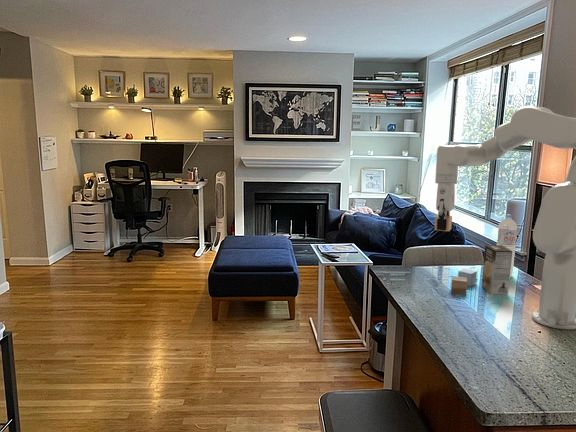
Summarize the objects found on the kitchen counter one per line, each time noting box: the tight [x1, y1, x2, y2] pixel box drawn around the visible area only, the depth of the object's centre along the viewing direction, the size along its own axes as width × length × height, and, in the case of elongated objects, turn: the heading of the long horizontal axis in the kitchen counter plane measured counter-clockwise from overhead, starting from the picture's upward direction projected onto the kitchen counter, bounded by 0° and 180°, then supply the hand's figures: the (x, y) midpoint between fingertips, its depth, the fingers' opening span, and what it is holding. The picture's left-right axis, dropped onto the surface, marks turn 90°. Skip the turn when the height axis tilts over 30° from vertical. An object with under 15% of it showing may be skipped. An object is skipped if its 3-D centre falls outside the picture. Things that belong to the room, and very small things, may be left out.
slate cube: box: [457, 268, 478, 287], centre depth 170 cm, size 5×5×5 cm
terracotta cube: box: [434, 214, 453, 232], centre depth 164 cm, size 5×5×5 cm
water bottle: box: [496, 213, 518, 277], centre depth 180 cm, size 7×7×25 cm
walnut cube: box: [450, 275, 468, 296], centre depth 160 cm, size 5×5×5 cm
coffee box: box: [481, 244, 513, 295], centre depth 161 cm, size 9×6×16 cm
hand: (443, 228), depth 165 cm, fingers closed on terracotta cube, 5 cm apart
